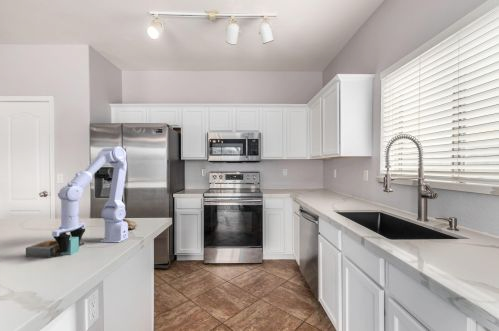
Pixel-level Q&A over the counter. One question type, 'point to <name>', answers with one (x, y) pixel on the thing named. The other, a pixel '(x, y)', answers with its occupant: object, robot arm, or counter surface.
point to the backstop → (42, 251)
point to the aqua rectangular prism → (72, 246)
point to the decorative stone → (130, 224)
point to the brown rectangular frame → (49, 245)
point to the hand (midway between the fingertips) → (70, 249)
